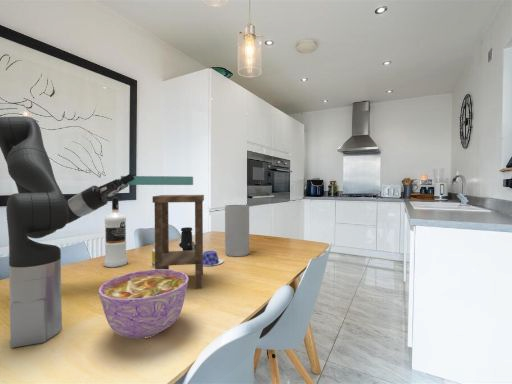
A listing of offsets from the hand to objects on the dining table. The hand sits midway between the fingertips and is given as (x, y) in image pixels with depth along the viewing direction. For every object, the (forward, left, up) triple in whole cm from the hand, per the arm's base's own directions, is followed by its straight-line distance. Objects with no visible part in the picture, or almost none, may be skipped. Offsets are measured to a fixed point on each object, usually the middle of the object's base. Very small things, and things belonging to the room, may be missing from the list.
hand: (134, 176), depth 92 cm
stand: (-3, -16, -38) cm, 41 cm away
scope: (+34, -22, -39) cm, 56 cm away
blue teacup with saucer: (+18, -30, -39) cm, 52 cm away
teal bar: (-1, -7, -3) cm, 8 cm away
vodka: (+29, +10, -39) cm, 50 cm away
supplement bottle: (+21, -8, -39) cm, 45 cm away
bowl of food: (-33, -5, -39) cm, 51 cm away
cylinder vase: (+29, -46, -39) cm, 67 cm away
